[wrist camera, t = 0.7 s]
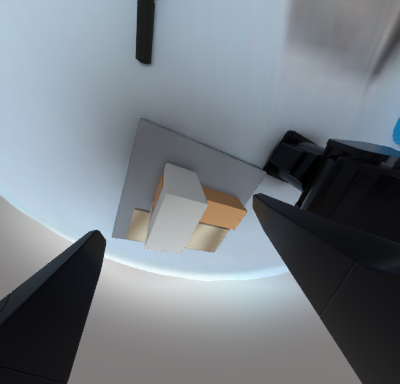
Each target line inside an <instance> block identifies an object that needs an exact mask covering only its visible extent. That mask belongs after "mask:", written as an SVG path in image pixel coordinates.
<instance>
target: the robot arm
mask: <svg viewBox="0 0 400 384" xmlns="http://www.w3.org/2000/svg"><path fill="white" fill-rule="evenodd" d="M291 133H292V134H291ZM290 134H291V136H290ZM267 169H268V170H267ZM263 170H264V171H265V172H267V173H266V174H268V175H270V176H273V177H275V178H278V179H280V180H282V181H285V182H287V183H290V184H291V185H292V186H294V187H295V188H297V189H298V190H300V191H301V192H302V194H301V196H300V198H299V200H298V202H296V204H295V206H292V205H290V204H287V203H285V202H282V201H280V200H277V199H274V198H272V197H269V196H267V195H264V194H262V193H258V194H254V195H253V209H254V211H255V213H256V216H257V218H258V220H259V222H260V224H261V226H262V228H263V230H264V231H265V233H266V235H267V236H268V238H269V239H270V241H271V242H272V244H273V246H274V247H275V249H276V250H277V252H278V253H279V255H280V256H281V258H282V260H283V261H284V263H285V264H286V266H287V267H288V269H289V270H290V272H291V274H292V275H293V277H294V278H295V280H296V281H297V283H298V284H299V286H300V287H301V289H302V291H303V292H304V294H305V295H306V297H307V298H308V300H309V301H310V303H311V304H312V306H313V308H314V309H315V311H316V312H317V314H318V315H319V316H320V319H321V320H322V322H323V323H324V325H325V326H326V328H327V330H328V331H329V333H330V334H331V336H332V337H333V339H334V340H335V342H336V344H337V345H338V347H339V348H340V350H341V351H342V353H343V354H344V356H345V357H346V359H347V361H348V362H349V364H350V365H351V367H352V368H353V370H354V371H355V373H356V374H357V376H358V377H359V379H360V381H361V382H362V384H400V151H397V150H395V149H393V148H390V147H386V146H381V145H376V144H371V143H366V142H359V141H348V140H337V139H329V140H328V142H327V146H326V148H324V147H321V146H318V145H316V144H315V143H313V142H311V141H310V140H308V139H306V138H305V137H303V136H301V135H300V134H298V133H296V132H295V131H292V130H290V131H288V132H287V134H286V135H285V137H284V138H283V140H282V141H281V143H280V144H279V146H278V147H277V149H276V151H275V152H274V154H273V155H272V157H271V158H270V160H269V161H268V163H267V164H266V166H265V167H264V169H263ZM266 170H267V171H266ZM105 247H106V239H105V238H104V237H103V235H102V234H101V232H100V231H99V230H93V231H90V232H88V233H87V234H85V235H84V236H83V237H82V238H80V239H79V240H78V241H76V242H75V243H74V244H73V245H71V246H70V247H69V248H67V249H66V250H65V251H64V252H62V253H61V254H60V255H58V256H57V257H56V258H55V259H53V260H52V261H51V262H49V263H48V264H47V265H46V266H44V267H43V268H42V269H40V270H39V271H38V272H37V273H35V274H34V275H33V276H32V277H30V278H29V279H28V280H26V281H25V282H24V283H22V284H21V285H20V286H19V287H17V288H16V289H15V290H14V291H12V293H10V294H8V295H7V296H6V297H4V298H3V299H2V300H1V301H0V384H67V383H68V380H69V377H70V373H71V370H72V366H73V363H74V360H75V356H76V353H77V350H78V346H79V342H80V340H81V336H82V332H83V329H84V326H85V323H86V319H87V316H88V313H89V309H90V306H91V303H92V299H93V296H94V292H95V289H96V285H97V282H98V279H99V276H100V272H101V268H102V263H103V258H104V252H105Z"/></svg>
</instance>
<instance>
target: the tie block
mask: <svg viewBox="0 0 400 384" xmlns="http://www.w3.org/2000/svg"><path fill="white" fill-rule="evenodd" d="M153 204H154V201H153V202H152V205H151V209H150V216H149V222H148V229H147V235H146V241H145V248H144V249H149V250H156V251H164V252H171V253H179V254H181V253H182V252H183V250H184V248H185V246H186V244H187V242H188V241H189V239H190V237H191V235H192V233H193V232H194V230H195V228H196V226H197V224H198V223H199V221H200V219H201V217H202V215H203V213H204V212H205V210H206V208H207V206H208V202H207V200H206V197H205V195H204V192H203V189H202V187H201V184H200V181H199V179H198V176H197V174H196V172H193V171H191V170H188V169H185V168H182V167H179V166H176V165H173V164H170V163H166V165H165V168H164V181H163V188H162V190H161V193H160V196H159V198H158V201H157V204H156V207H155V209H154V212H153Z"/></svg>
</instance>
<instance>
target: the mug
mask: <svg viewBox="0 0 400 384" xmlns="http://www.w3.org/2000/svg"><path fill="white" fill-rule="evenodd" d="M393 140H394V142H395V143H397V144H399V145H400V118H399V119H398V121H397V124H396V126H395V128H394V132H393Z"/></svg>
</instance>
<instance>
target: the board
mask: <svg viewBox="0 0 400 384" xmlns="http://www.w3.org/2000/svg"><path fill="white" fill-rule="evenodd" d="M166 163H170V164H173V165H176V166H179V167H182V168H185V169H188V170H191V171H193V172H196V174H197V176H198V179H199V181H200V184H201V186H202V187H206V188H209V189H212V190H215V191H218V192H221V193H225V194H228V195H231V196H234V197H237V198H238V199H239V200H240V202H241V203H242V205H243V206H244V205H245V204H246V203H247V201H248V200H249V198H250V197H251V195H252V194H253V192H254V191H255V189H256V188H257V186H258V185H259V183H260V182H261V180H262V179H263V177H264V176H265V175H266V173H267V172H265V171H264V170H262V169H260V168H258V167H255V166H253V165H251V164H248V163H246V162H244V161H241V160H239V159H237V158H234V157H232V156H229V155H227V154H225V153H222V152H220V151H218V150H215V149H213V148H211V147H208V146H206V145H204V144H201V143H199V142H197V141H194V140H192V139H190V138H187V137H185V136H183V135H180V134H178V133H176V132H173V131H171V130H169V129H166V128H164V127H162V126H159V125H157V124H155V123H152V122H150V121H148V120H145V119H143V118H141V119H140V122H139V126H138V130H137V134H136V138H135V143H134V147H133V151H132V155H131V159H130V163H129V167H128V171H127V176H126V180H125V184H124V188H123V192H122V196H121V200H120V204H119V209H118V213H117V217H116V221H115V225H114V229H113V233H112V237H113V238H120V239H126V236H127V232H128V229H129V226H130V222H131V219H132V216H133V212H134V209H135V208H139V209H143V210H148V211H150V209H151V205H152V202H153V201H154V196H155V193H156V190H157V187H158V185H159V182H160V179H161V176H162V174H164V168H165V165H166ZM206 224H207V223H206ZM215 226H216V225H215ZM224 228H225V227H224ZM127 240H128V239H127ZM134 241H135V240H134ZM140 242H142V241H140ZM187 249H189V248H187ZM194 250H195V249H194ZM201 251H202V250H201ZM207 252H209V251H207Z"/></svg>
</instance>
